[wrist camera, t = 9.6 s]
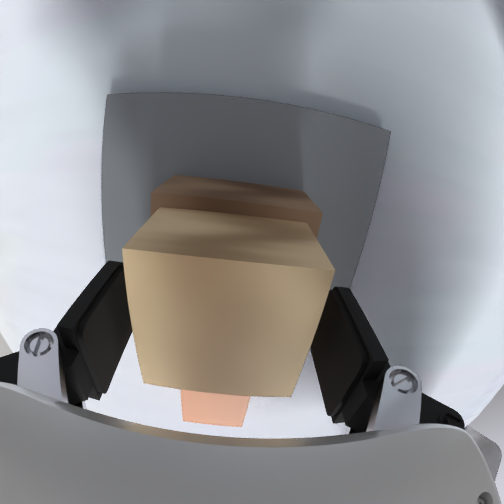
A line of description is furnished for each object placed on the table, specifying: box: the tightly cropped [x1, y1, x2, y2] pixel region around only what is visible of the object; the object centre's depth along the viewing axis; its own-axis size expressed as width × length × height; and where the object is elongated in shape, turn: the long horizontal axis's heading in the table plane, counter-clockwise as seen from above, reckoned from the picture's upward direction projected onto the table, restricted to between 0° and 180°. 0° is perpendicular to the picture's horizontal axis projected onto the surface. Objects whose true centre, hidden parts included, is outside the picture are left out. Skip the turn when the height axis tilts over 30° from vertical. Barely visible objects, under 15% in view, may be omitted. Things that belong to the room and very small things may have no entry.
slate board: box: [102, 92, 391, 350], centre depth 16 cm, size 16×16×1 cm
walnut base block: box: [151, 175, 323, 239], centre depth 14 cm, size 7×7×4 cm
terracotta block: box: [181, 389, 250, 427], centre depth 21 cm, size 5×5×4 cm
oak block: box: [122, 207, 335, 397], centre depth 10 cm, size 6×6×4 cm
